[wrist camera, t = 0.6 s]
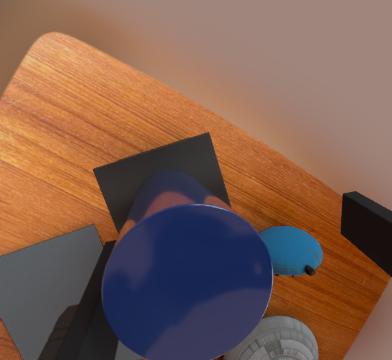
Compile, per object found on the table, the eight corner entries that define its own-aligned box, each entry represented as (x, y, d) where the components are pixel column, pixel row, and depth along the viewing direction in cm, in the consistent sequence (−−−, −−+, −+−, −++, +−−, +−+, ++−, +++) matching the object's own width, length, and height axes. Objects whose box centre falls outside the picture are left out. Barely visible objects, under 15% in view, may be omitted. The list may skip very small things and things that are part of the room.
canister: (123, 183, 18) (70, 241, 7) (194, 160, 18) (249, 179, 7) (148, 250, 19) (137, 393, 8) (215, 226, 19) (290, 327, 8)
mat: (-25, 264, 28) (-27, 266, 27) (93, 223, 29) (92, 225, 29) (46, 396, 31) (44, 399, 31) (147, 354, 33) (147, 356, 33)
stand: (118, 160, 29) (92, 169, 17) (188, 137, 30) (209, 131, 18) (143, 227, 30) (135, 277, 19) (209, 203, 31) (240, 237, 20)
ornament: (243, 260, 33) (278, 307, 24) (236, 230, 33) (271, 265, 23) (296, 244, 34) (352, 283, 25) (292, 214, 34) (347, 242, 24)
